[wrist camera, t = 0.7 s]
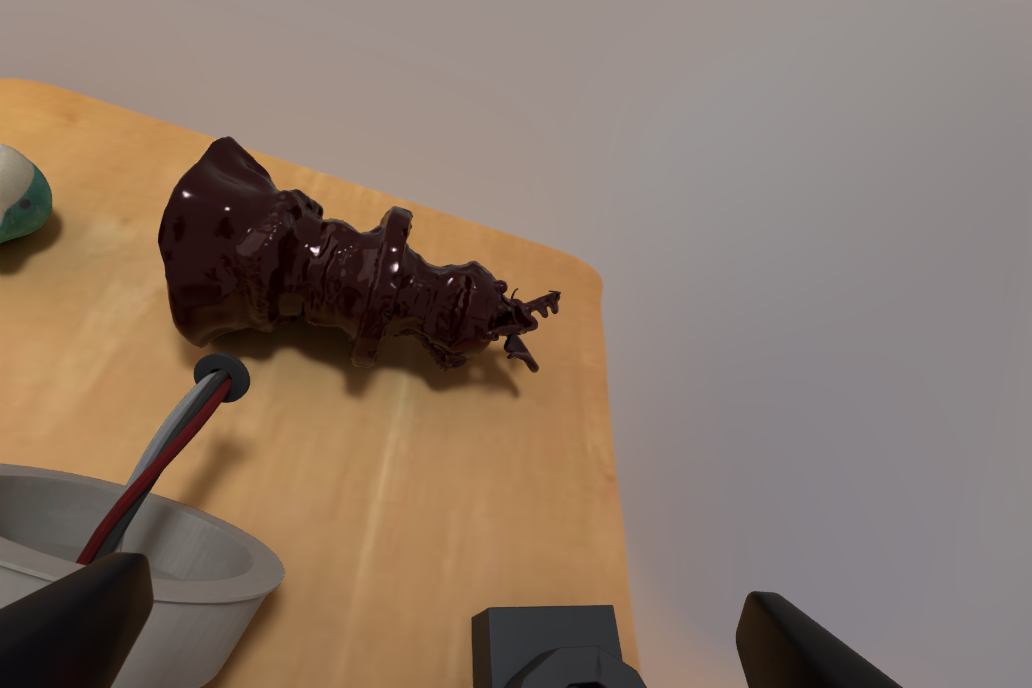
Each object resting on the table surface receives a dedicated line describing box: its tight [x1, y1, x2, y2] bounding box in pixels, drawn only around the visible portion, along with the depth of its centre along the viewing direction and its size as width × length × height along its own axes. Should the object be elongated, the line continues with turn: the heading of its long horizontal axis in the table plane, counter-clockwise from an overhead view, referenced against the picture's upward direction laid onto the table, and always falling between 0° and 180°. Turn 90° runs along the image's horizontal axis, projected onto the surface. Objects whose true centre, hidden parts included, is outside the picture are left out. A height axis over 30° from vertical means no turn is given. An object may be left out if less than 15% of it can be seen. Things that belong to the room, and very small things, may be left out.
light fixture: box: [0, 352, 285, 688], centre depth 15 cm, size 11×16×10 cm, turn 166°
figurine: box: [158, 136, 561, 373], centre depth 27 cm, size 10×10×18 cm
